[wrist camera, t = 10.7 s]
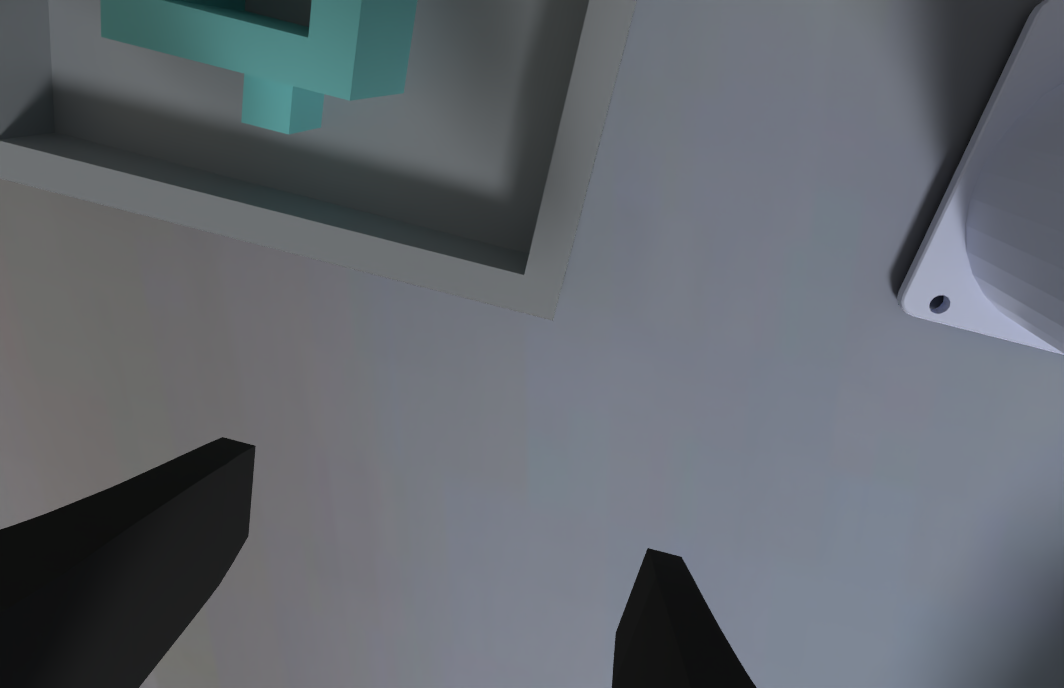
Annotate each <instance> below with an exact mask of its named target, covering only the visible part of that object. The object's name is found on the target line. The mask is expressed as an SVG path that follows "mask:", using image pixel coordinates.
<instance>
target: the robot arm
mask: <svg viewBox="0 0 1064 688" xmlns="http://www.w3.org/2000/svg"><path fill="white" fill-rule="evenodd" d="M939 295H943V296H944V300H943V303H942V304H941V305H940V306H939V307H937V308H935V309H930V308H929V305H930V302H931V300H932V299H933V298H934V297H937V296H939ZM897 301H898V305H899V306H900V307H901V309H902V310H903V311H905V312H906V313H907V314H909V315H911V316H914V317H918V318H922V319H926V320H930V321H934V322H938V323H941V324H945V325H949V326H953V327H957V328H961V329H965V330H969V331H973V332H977V333H981V334H984V335H988V336H992V337H996V338H1000V339H1004V340H1008V341H1012V342H1016V343H1020V344H1024V345H1028V346H1031V347H1035V348H1039V349H1043V350H1047V351H1051V352H1055V353H1059V354H1063V355H1064V0H1044V1H1042V2H1041V3H1040V4H1038V5H1037V6H1036V7H1035V8H1034V9H1033V11H1032V12H1031V14H1030V15H1029V17H1028V19H1027V21H1026V23H1025V25H1024V27H1023V29H1022V32H1021V34H1020V36H1019V38H1018V40H1017V42H1016V44H1015V46H1014V48H1013V51H1012V53H1011V55H1010V57H1009V59H1008V61H1007V63H1006V65H1005V68H1004V70H1003V72H1002V74H1001V76H1000V78H999V80H998V82H997V84H996V87H995V89H994V91H993V93H992V95H991V97H990V99H989V101H988V103H987V106H986V108H985V110H984V112H983V114H982V116H981V118H980V120H979V123H978V125H977V127H976V129H975V131H974V133H973V135H972V137H971V139H970V142H969V144H968V146H967V148H966V150H965V152H964V154H963V156H962V158H961V161H960V163H959V165H958V167H957V169H956V171H955V173H954V175H953V178H952V180H951V182H950V184H949V186H948V188H947V190H946V192H945V194H944V197H943V199H942V201H941V203H940V205H939V207H938V209H937V211H936V214H935V216H934V218H933V220H932V222H931V224H930V226H929V228H928V230H927V233H926V235H925V237H924V239H923V241H922V243H921V245H920V247H919V249H918V252H917V254H916V256H915V258H914V260H913V262H912V264H911V266H910V269H909V271H908V273H907V275H906V277H905V279H904V281H903V283H902V285H901V288H900V290H899V292H898V296H897ZM254 458H255V446H254V445H250V444H246V443H243V442H239V441H235V440H231V439H227V438H223V437H222V438H220V439H217V440H215V441H213V442H210V443H208V444H206V445H203V446H201V447H199V448H197V449H195V450H192V451H190V452H188V453H186V454H184V455H182V456H179V457H177V458H175V459H173V460H171V461H169V462H167V463H164V464H162V465H160V466H158V467H156V468H153V469H151V470H149V471H147V472H145V473H142V474H140V475H138V476H136V477H133V478H131V479H129V480H127V481H124V482H122V483H120V484H118V485H116V486H113V487H111V488H109V489H106V490H104V491H101V492H99V493H96V494H94V495H91V496H89V497H86V498H84V499H81V500H79V501H76V502H74V503H71V504H69V505H66V506H64V507H61V508H59V509H57V510H54V511H52V512H49V513H46V514H44V515H41V516H38V517H36V518H33V519H30V520H27V521H24V522H21V523H19V524H16V525H13V526H10V527H7V528H4V529H1V530H0V688H139V687H140V685H141V684H142V683H143V682H144V680H145V679H146V678H147V677H148V675H149V674H150V673H151V672H152V670H153V669H154V668H155V666H156V665H157V664H158V663H159V661H160V660H161V659H162V658H163V656H164V655H165V654H166V653H167V651H168V650H169V649H170V647H171V646H172V645H173V644H174V642H175V641H176V640H177V639H178V637H179V636H180V635H181V634H182V632H183V631H184V630H185V628H186V627H187V626H188V625H189V623H190V622H191V621H192V620H193V618H194V617H195V616H196V614H197V613H198V612H199V611H200V609H201V608H202V607H203V605H204V604H205V603H206V602H207V600H208V599H209V598H210V596H211V595H212V594H213V592H214V591H215V590H216V588H217V587H218V586H219V584H220V583H221V581H222V579H223V578H224V576H225V575H226V573H227V571H228V570H229V568H230V567H231V565H232V563H233V562H234V560H235V558H236V556H237V555H238V553H239V551H240V550H241V548H242V546H243V544H244V543H245V541H246V539H247V538H248V533H249V521H250V508H251V496H252V483H253V471H254ZM612 688H756V686H755V685H754V683H753V682H752V680H751V679H750V677H749V676H748V674H747V673H746V671H745V669H744V668H743V666H742V665H741V663H740V661H739V659H738V658H737V656H736V654H735V653H734V651H733V649H732V648H731V646H730V644H729V643H728V641H727V639H726V637H725V636H724V634H723V632H722V631H721V629H720V627H719V625H718V623H717V622H716V620H715V618H714V616H713V614H712V613H711V611H710V609H709V607H708V605H707V603H706V602H705V600H704V598H703V596H702V594H701V592H700V590H699V589H698V587H697V585H696V583H695V581H694V579H693V577H692V575H691V574H690V572H689V570H688V568H687V566H686V564H685V563H684V561H683V559H682V557H680V556H676V555H672V554H668V553H665V552H661V551H657V550H653V549H649V548H648V549H647V551H646V554H645V557H644V559H643V562H642V565H641V567H640V570H639V573H638V575H637V578H636V581H635V583H634V586H633V589H632V591H631V594H630V597H629V599H628V602H627V605H626V607H625V610H624V613H623V615H622V618H621V621H620V623H619V626H618V628H617V631H616V638H615V651H614V664H613V680H612Z"/></svg>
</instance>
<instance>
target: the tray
mask: <svg viewBox="0 0 1064 688" xmlns="http://www.w3.org/2000/svg"><path fill="white" fill-rule="evenodd" d="M636 1H637V0H417V6H416V13H415V20H414V27H413V33H412V40H411V47H410V54H409V60H408V67H407V74H406V81H405V87H404V93H402V94H395V95H387V96H380V97H373V98H366V99H358V100H351V101H349V100H345V99H341V98H337V97H333V96H330V95H326V94H324V102H323V112H322V121H321V128H316V129H312V130H307V131H303V132H298V133H293V134H285V133H281V132H277V131H273V130H269V129H265V128H261V127H258V126H254V125H250V124H246V123H242V122H241V119H242V103H243V86H244V73H240V72H236V71H232V70H228V69H224V68H221V67H217V66H213V65H209V64H205V63H201V62H197V61H193V60H189V59H185V58H182V57H178V56H174V55H170V54H166V53H162V52H158V51H154V50H150V49H146V48H143V47H139V46H135V45H131V44H127V43H123V42H119V41H115V40H111V39H108V38H104V37H101V5H100V0H0V179H4V180H8V181H12V182H16V183H20V184H24V185H27V186H31V187H35V188H39V189H43V190H47V191H51V192H55V193H59V194H62V195H66V196H70V197H74V198H78V199H82V200H86V201H90V202H94V203H97V204H101V205H105V206H109V207H113V208H117V209H121V210H125V211H129V212H132V213H136V214H140V215H144V216H148V217H152V218H156V219H160V220H164V221H168V222H171V223H175V224H179V225H183V226H187V227H191V228H195V229H199V230H203V231H206V232H210V233H214V234H218V235H222V236H226V237H230V238H234V239H238V240H241V241H245V242H249V243H253V244H257V245H261V246H265V247H269V248H273V249H276V250H280V251H284V252H288V253H292V254H296V255H300V256H304V257H308V258H311V259H315V260H319V261H323V262H327V263H331V264H335V265H339V266H343V267H346V268H350V269H354V270H358V271H362V272H366V273H370V274H374V275H378V276H381V277H385V278H389V279H393V280H397V281H401V282H405V283H409V284H413V285H417V286H420V287H424V288H428V289H432V290H436V291H440V292H444V293H448V294H452V295H455V296H459V297H463V298H467V299H471V300H475V301H479V302H483V303H487V304H490V305H494V306H498V307H502V308H506V309H510V310H514V311H518V312H522V313H525V314H529V315H533V316H537V317H541V318H545V319H549V320H553V318H554V314H555V311H556V307H557V303H558V299H559V295H560V292H561V288H562V284H563V280H564V276H565V272H566V269H567V265H568V261H569V257H570V253H571V250H572V246H573V242H574V238H575V234H576V230H577V227H578V223H579V219H580V215H581V211H582V208H583V204H584V200H585V196H586V192H587V188H588V185H589V181H590V177H591V173H592V169H593V166H594V162H595V158H596V154H597V150H598V146H599V143H600V139H601V135H602V131H603V127H604V124H605V120H606V116H607V112H608V108H609V104H610V101H611V97H612V93H613V89H614V85H615V82H616V78H617V74H618V70H619V66H620V62H621V59H622V55H623V51H624V47H625V43H626V39H627V36H628V32H629V28H630V24H631V20H632V17H633V13H634V9H635V5H636ZM311 3H312V0H245V11H248V12H251V13H255V14H259V15H263V16H267V17H271V18H275V19H279V20H283V21H287V22H291V23H294V24H298V25H302V26H306V27H309V25H310V14H311Z"/></svg>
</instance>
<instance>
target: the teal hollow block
mask: <svg viewBox="0 0 1064 688" xmlns="http://www.w3.org/2000/svg"><path fill="white" fill-rule="evenodd" d="M100 5H101V37H104V38H108V39H111V40H115V41H119V42H123V43H127V44H131V45H135V46H139V47H143V48H146V49H150V50H154V51H158V52H162V53H166V54H170V55H174V56H178V57H182V58H185V59H189V60H193V61H197V62H201V63H205V64H209V65H213V66H217V67H221V68H224V69H228V70H232V71H236V72H240V73H244V86H243V103H242V119H241V122H242V123H246V124H250V125H254V126H258V127H261V128H265V129H269V130H273V131H277V132H281V133H285V134H293V133H298V132H303V131H307V130H312V129H316V128H321V121H322V112H323V102H324V94H326V95H330V96H333V97H337V98H341V99H345V100H349V101H351V100H358V99H366V98H373V97H380V96H387V95H395V94H402V93H404V87H405V81H406V74H407V67H408V60H409V54H410V47H411V40H412V33H413V27H414V20H415V13H416V6H417V0H312V3H311V14H310V25H309V27H306V26H302V25H298V24H294V23H291V22H287V21H283V20H279V19H275V18H271V17H267V16H263V15H259V14H255V13H251V12H248V11H245V0H100Z"/></svg>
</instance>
